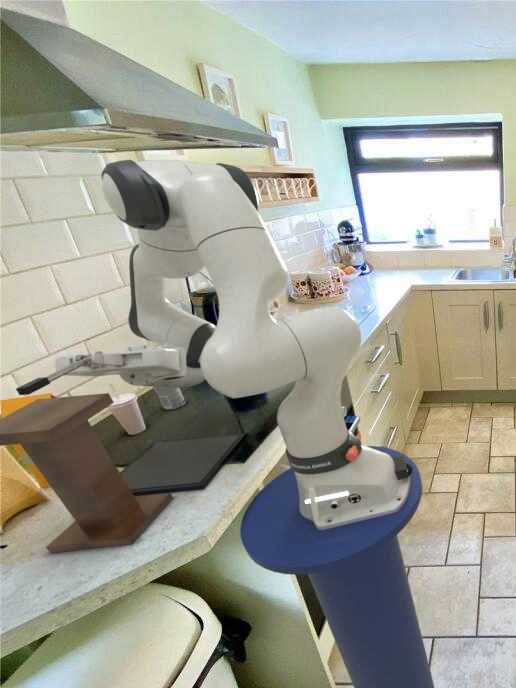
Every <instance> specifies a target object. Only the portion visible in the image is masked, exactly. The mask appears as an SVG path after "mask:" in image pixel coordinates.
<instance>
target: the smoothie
mask: <svg viewBox="0 0 516 688" xmlns="http://www.w3.org/2000/svg"><path fill="white" fill-rule="evenodd" d="M108 385H109V387H110V388H111V390H112V392H113V394H114V396H113V397H111V398H112V400H113V402H114V403H113V404H111V405H110V406H108V407H107V408H106V409H108V410H109V411H110V413H111V414H112V415H113V417H114V418H115V419H116V420H117V421H118V423H119V424H120V425H121V426H122V428H123V429H124V430H125V431H126V433H127V434H128V435H131V436H132V435H137V434H140V433H143V432H145V431H146V429H147V427H146V424H145V421H144V418H143V415H142V412H141V409H140V407H139V404H138V401H137V400H138V397H137V395H136V394H135V393H124V394H119V393H118V391H117V390H116V388H115V386H114V384H113V383H112V382H111V383H109V384H108Z"/></svg>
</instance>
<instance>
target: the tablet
mask: <svg viewBox="0 0 516 688" xmlns="http://www.w3.org/2000/svg"><path fill="white" fill-rule="evenodd" d="M247 437H248V434H247V432H241V433H230V434H220V435H208V436H198V437H189V438H178V439H167V440H156V441H154V442H153V443H151V445H149V446H148V447H147V448H146V449H144V450H143V451H142V452H141V453H140V454H139V455H138V456H137V457H135V459H133V460H132V461H131V462H130V463H128V465H127V466H125V467H124V468H123V469H122V470H121V471H119V472H120V474H121V475H122V477H123V479H124V480H125V482H126V484H127V485H128V487H129V489H130V490H131V492H132V493H133V495H134V497H135V496H145V495H155V494H164V493H178V492H188V491H198V490H199V491H200V490H205V489H206V487H207V486H208V485H209V484H210V483H211V481H212V480H213V479H214V478H215V476H216V475H217V474H218V473H219V472H220V470H221V469H222V468H223V467H224V465H226V463H227V461H228V460H229V459H230V458H231V457H232V456H233V454H234V453H235V452H236V451H237V449H238V448H240V446H241V444H242V443H243V442H244V441H245V439H247Z"/></svg>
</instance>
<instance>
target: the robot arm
mask: <svg viewBox="0 0 516 688" xmlns="http://www.w3.org/2000/svg"><path fill="white" fill-rule="evenodd" d="M255 186H256V185H255V183H254V182H253V180H252V179H251V178H250V176H249V175H248V174H247V173H246V172H245V171H244V170H243V169H241V167H238V166H236V165H233V164H232V165H231V164H227V163H222V162H217V163H208V162H203V161H202V162H201V161H189V160H180V159H147V160H137V161H134V160H132V159H124V160H118V161H113V162H110V163H107V164H105V167H104V168H103V170H102V172H101V189H102V193H103V196H104V199H105V201H106V203H107V204H108V206H109V207H110V209H111V210H112V211H113V212H114V214H115V215H116V216H117V218H118V219H119V220H120V221H121V222H122V223H124V224H125V225H127V226H129V227H130V228H133V229H136V232H137V236H138V243H137V244H136V245H134V246H133V248H132V249H131V251H130V254H129V260H128V261H129V264H128V265H129V266H128V267H129V269H128V271H129V286H130V308H129V312H128V319H127V320H128V326H129V329H130V331H131V332H132V333H133V334H134V335H135V336H136V337H139V338H141V339H144V340H147V341H149V342H152V343H155V344H156V345H159V346H156V345H155V346H154V345H147V344H146V345H145V344H133V345H131V346H129V347H127V348H125V349H124V350H123V351H113V352H102V353H103V354H94V353H88V354H74V355H65V356H57V357H56V358H55V361H54V362H55V363H54V368H55V372H57V371H59V370H61V369H63V368H65V367H67V366H69V365H71V364H73V363H75V362H77V361H79V360H81V359H83V358H85V357H86V358H87V359H86V361H87V364H85V365H83V366H81V367H79V368H77V369H75V370H73V371H71V372H69V373H67V374H65V375H63V376H64V377H65V376H66V377H107V376H117V375H119V377H120V378H121V380H123V382H125V383H127V384H129V385H131V386H137V387H152V388H153V387H157V386H164V387H172V388H180V389H181V388H191V387H195V386H197V385H200V384H201V383H203V382H204V381H206V383H208V385H209V386H210V388H212V389H213V390H215V392H217V393H220V394H221V395H223V396H225V397H228V398H230V399H239V398H245V397H251V396H255V395H261V394H265V393H268V392H270V391H273V390H276V389H278V388H281V387H284V386H286V385H289V384H292V383H295V384H294V386H293V388H292V390H291V391H290V393H289V394H288V395H287V396H286V397H285V398H284V399H283V400H282V402H281V403H280V404H279V406H278V408H277V409H278V410H277V413H276V423H277V426H278V428H279V432H280V434H281V436H282V439H283V442H284V445H285V454H286V455H285V456H286V457H287V462H288V464H289V468H291V469H292V470H293V472H295V476H296V480H297V485H298V491H299V511H300V513H301V514H302V515H303V516H304V517H305V518H307V519H309V520H311V521H313V522H314V524H315V526H316V528H317V529H319V530H325V529H329V528H334V527H338V526H342V525H346V524H350V523H354V522H358V521H362V520H367V519H371V518H375V517H379V516H383V515H387V514H391V513H395V512H397V511H398V510H399V509H400V508H401V507H402V505H403V504H404V503H405V501H406V499H407V497H408V494H409V490H410V475H411V474H412V471H413V468H412V466H411V465H409V464H406V462H405V457H404V455H405V454H404V455H403V456H398V457H394V458H393V459H392V458H391V456H390V455H388V454H387V453H384V452H381V451H378V450H375V449H372V448H370V447H367V446H368V445H364V444H362V443H361V439H362V434H361V431H360V430H358V432H357V435H354V434H353V433H352V432H351V431H350V429H348V427H347V425H346V421H345V417H344V412H343V406H342V387H343V382H344V379H345V376H346V372H347V370H348V368H349V366H350V364H351V362H352V361H353V359H354V357H355V356H356V355H357V354H358V352H359V351H360V348H361V344H362V333H361V328H360V326H359V324H358V322H357V320H356V319H355V318H354V316H352V315H351V314H350V313H349V312H348V311H347V310H345V309H343V308H342V307H337V306H336V307H321V308H320V307H319V308H318V307H317V308H311V309H308V310H307V309H306V310H304V311H300V312H296V313H292V314H289V315H285V316H281V317H278V318H274V317H273V315H272V314H271V312H270V308H269V305H270V304H271V303H272V302H273V301H274V300H275V299H276V298H277V297H278V296H280V295H281V293H282V292H283V291H284V290H285V289H286V287H287V285H288V282H289V270H288V268H287V266H286V264H285V262H284V260H283V258H282V256H281V253H280V251H279V249H278V248H277V246H276V244H275V242H274V240H273V238H272V236H271V234H270V231H269V230H268V228H267V226H266V224H265V222H264V220H263V219H262V216H261V215H260V213H259V208H260V201H259V196H258V191H257V189H256V187H255ZM205 269H206V271H207V273H208V275H209V278H210V279H211V282H212V284H213V288H214V290H215V292H216V296H217V299H218V306H219V307H218V309H219V310H218V311H219V312H218V319H217V324H216V325H215V324H214V323H211V322H210V321H207V320H206V319H204V318H202V317H199V316H197V315H194V314H193V313H190V312H188V311H186V310H184V309H181V308H179V307H177V306H176V305H175V304H173V303H171V301H170V300H168V299H167V297H166V279H171V280H175V279H178V280H179V279H184V278H189V277H193V276H195V275H197V274H199V273H200V272H202V271H203V270H205ZM160 346H161V347H160ZM407 469H408V470H407Z"/></svg>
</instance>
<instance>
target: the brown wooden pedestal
mask: <svg viewBox="0 0 516 688" xmlns="http://www.w3.org/2000/svg"><path fill="white" fill-rule="evenodd" d="M112 398H113V397H111V395H110V393H109V392H107V393H95V394H81V395H73V396H72V395H71V396H60V397H59V396H58V397H57V398H47V399H37V400H35V401H33V402H31V403H30V404H28V405H26V406H24V407H22V408H20V409H18V410H16V411H15V412H13V413H11V414H9V415H7V416H5V417H3V418H0V446H12V445H13V444H20V445H21V446H22V447H23V449H24V450H25V452H26V453H27V454H28V456H29V457H30V458H31V460H32V461H33V463H34V464H35V465H36V467H37V468H38V470H39V471H40V472H41V474H42V475H43V476H44V478H45V479H46V481H47V482H48V483H49V485H50V486H49V487H50V488H51V489H52V491H53V492H54V493H55V494H56V496H57V497H58V499H59V500H60V501H61V503H62V504H63V506H64V507H65V508H66V510H67V512H68V513H69V514H70V515H71V517H72V518H73V519H74V522H73V523H71V524H70V525H69V526H68V527H67V528H66V529H64V530H63V531H62V532H61V533H60V534H59V535H58V536H57V537H56V538H55V539H53V540H52V541H51V542H50V543H49V544H48V545H47V546H46V547H45V548H46V550H48V552H49V553H51V554H53V553H63V552H73V551H81V550H92V549H101V548H110V547H111V548H112V547H119V546H127V545H128V546H129V545H133V544H134V543H135V542H136V541H137V540H138V538H140V536H141V535H142V534H143V533H144V532H145V531H146V530H147V529H148V528H149V527H150V525H151V524H152V523H153V522H154V520H156V518H158V516H159V515H160V514H161V513H162V512H163V511H164V509H165V508H166V507H167V506H168V505H169V504H170V503H171V502H172V501H173V499H174V497H173V495H172V492H170V493H160V494H150V495H140V496H134V495H133V493H132V492H131V490H130V489H129V487H128V485H127V484H126V482H125V480H124V479H123V477H122V475H121V474H120V472H121V471H119V469H118V467H117V465H116V464H115V462H114V461H113V459H112V458H111V456H110V454H109V453H108V451H107V450H106V447H105V446H104V444H103V443H102V441H101V439H100V438H99V436H98V435H97V433H96V431H95V430H94V428H93V426H92V424H91V423H90V421H89V420H90V419H92V418H93V417H94V416H96V415H98V414H99V413H101V412H102V411H104V410H105V409H107V407H108V406H110V405H111V404H113V403H114V402H113V400H112Z"/></svg>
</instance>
